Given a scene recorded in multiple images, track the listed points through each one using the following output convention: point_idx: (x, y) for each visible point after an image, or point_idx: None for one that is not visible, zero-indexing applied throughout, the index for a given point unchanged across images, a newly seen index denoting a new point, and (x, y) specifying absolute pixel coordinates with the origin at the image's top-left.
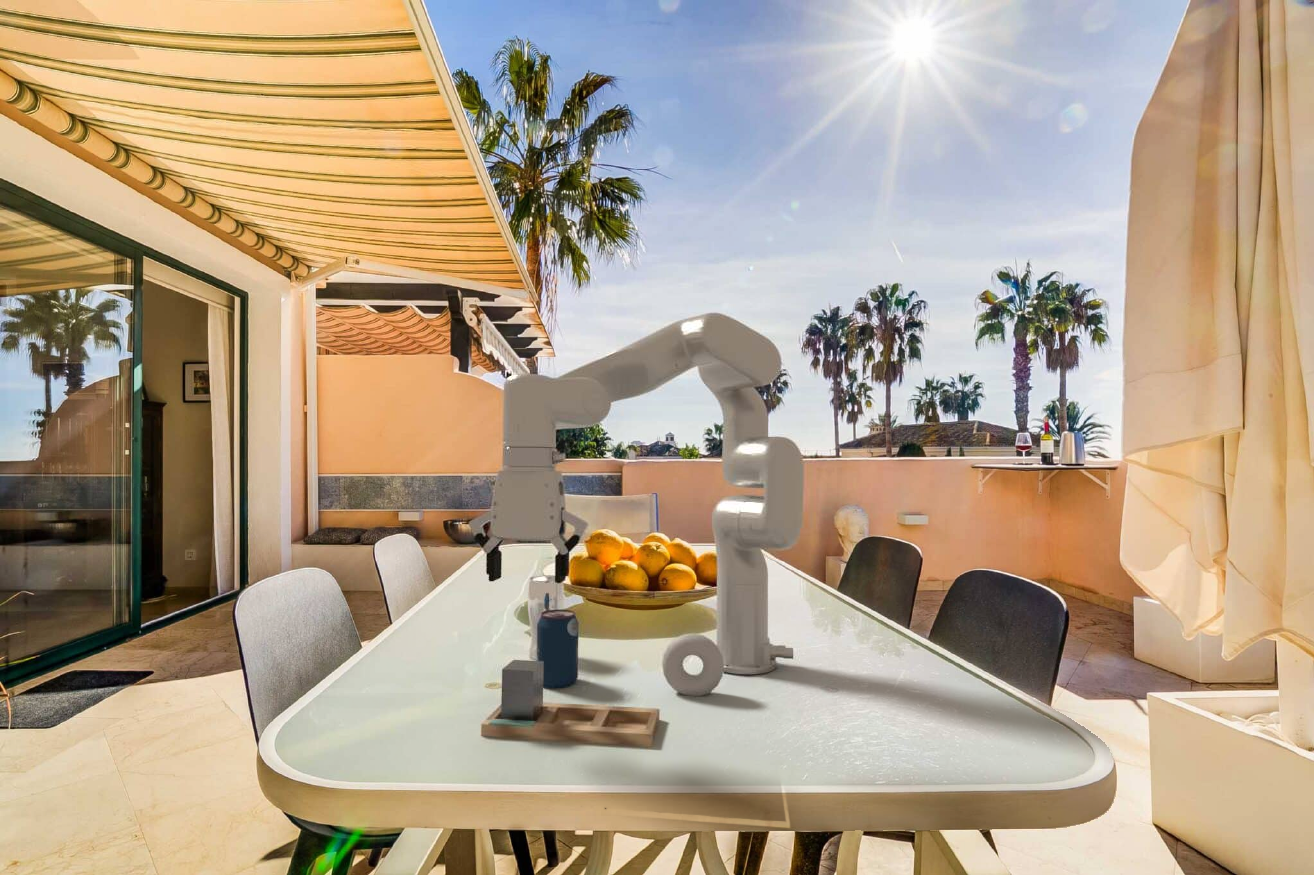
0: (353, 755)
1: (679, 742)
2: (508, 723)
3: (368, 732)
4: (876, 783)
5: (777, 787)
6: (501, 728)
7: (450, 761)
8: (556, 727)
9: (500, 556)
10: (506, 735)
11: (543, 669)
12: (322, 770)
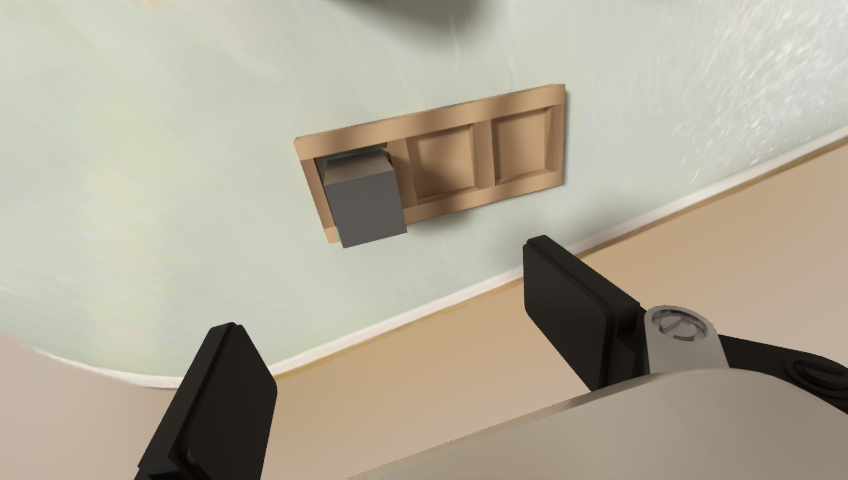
0: None
1: (580, 143)
2: None
3: (146, 281)
4: (749, 166)
5: (665, 208)
6: None
7: (337, 294)
8: (438, 211)
9: (209, 430)
10: None
11: (391, 166)
12: None
